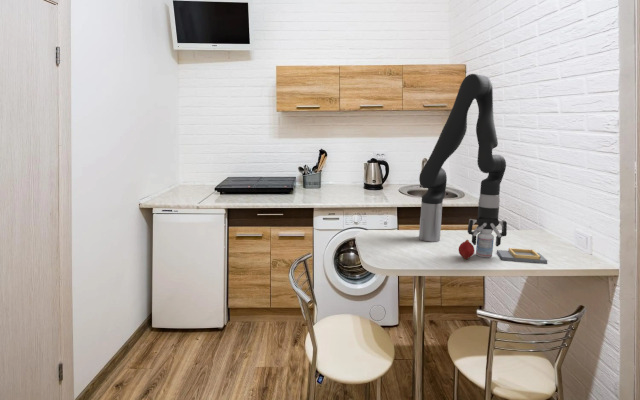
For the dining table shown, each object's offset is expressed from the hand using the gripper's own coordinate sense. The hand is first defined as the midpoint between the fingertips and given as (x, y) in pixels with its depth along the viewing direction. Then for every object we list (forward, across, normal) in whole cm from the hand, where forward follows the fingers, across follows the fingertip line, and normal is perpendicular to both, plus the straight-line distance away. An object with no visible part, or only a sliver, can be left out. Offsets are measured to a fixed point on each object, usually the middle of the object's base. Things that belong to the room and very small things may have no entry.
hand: (485, 245), depth 160 cm
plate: (+4, +14, +1) cm, 14 cm away
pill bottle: (+4, 0, 0) cm, 5 cm away
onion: (+4, -8, -7) cm, 12 cm away
